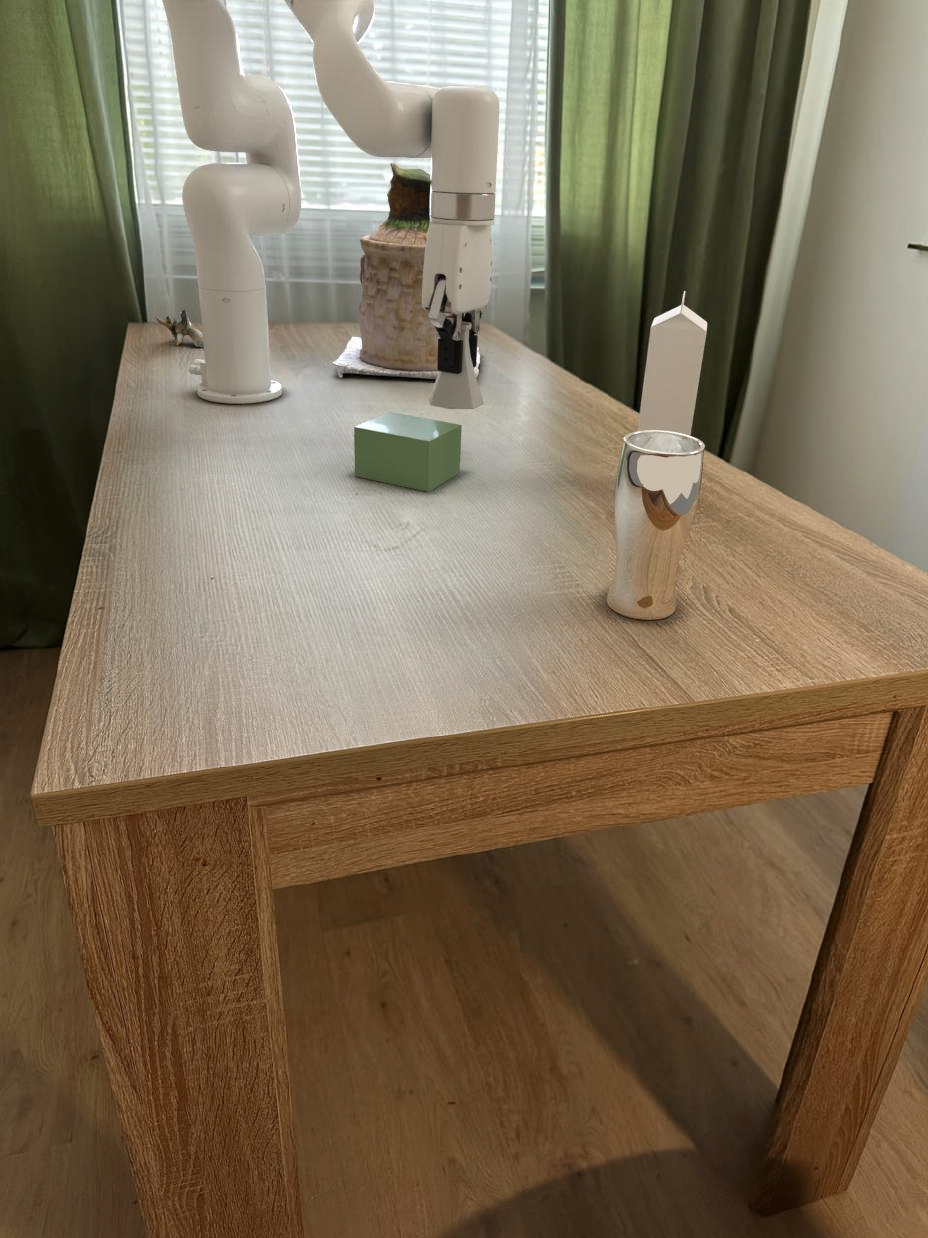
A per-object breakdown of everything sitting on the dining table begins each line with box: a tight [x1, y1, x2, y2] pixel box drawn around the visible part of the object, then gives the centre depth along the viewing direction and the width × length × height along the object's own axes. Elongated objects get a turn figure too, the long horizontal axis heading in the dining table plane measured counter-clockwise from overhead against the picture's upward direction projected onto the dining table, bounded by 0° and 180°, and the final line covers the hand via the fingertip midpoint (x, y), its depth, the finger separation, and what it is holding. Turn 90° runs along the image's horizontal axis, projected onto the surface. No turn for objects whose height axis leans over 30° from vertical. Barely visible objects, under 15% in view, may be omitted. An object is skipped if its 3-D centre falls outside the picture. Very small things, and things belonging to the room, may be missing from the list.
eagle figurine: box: [155, 308, 204, 349], centre depth 170 cm, size 8×7×9 cm
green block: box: [353, 411, 463, 493], centre depth 109 cm, size 10×8×6 cm
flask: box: [428, 321, 485, 410], centre depth 115 cm, size 7×7×10 cm
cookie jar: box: [332, 162, 482, 380], centre depth 155 cm, size 25×25×32 cm
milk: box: [637, 290, 708, 436], centre depth 106 cm, size 6×6×22 cm
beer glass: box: [606, 430, 706, 621], centre depth 79 cm, size 7×7×15 cm
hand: (457, 367), depth 115 cm, fingers closed on flask, 3 cm apart
